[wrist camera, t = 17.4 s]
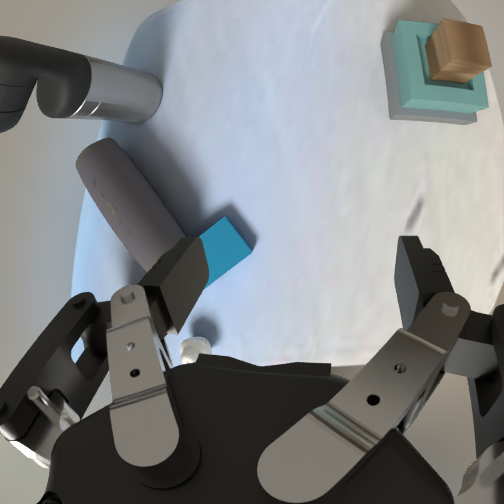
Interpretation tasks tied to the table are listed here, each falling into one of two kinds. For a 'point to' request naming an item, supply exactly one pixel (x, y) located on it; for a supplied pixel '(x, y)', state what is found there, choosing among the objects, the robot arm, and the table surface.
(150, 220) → the bluetooth speaker
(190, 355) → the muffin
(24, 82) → the robot arm
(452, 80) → the walnut brick
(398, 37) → the tower base
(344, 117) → the table surface
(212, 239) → the blue rectangular block
